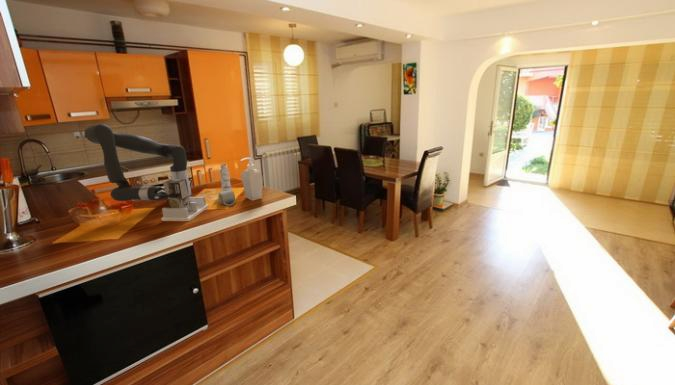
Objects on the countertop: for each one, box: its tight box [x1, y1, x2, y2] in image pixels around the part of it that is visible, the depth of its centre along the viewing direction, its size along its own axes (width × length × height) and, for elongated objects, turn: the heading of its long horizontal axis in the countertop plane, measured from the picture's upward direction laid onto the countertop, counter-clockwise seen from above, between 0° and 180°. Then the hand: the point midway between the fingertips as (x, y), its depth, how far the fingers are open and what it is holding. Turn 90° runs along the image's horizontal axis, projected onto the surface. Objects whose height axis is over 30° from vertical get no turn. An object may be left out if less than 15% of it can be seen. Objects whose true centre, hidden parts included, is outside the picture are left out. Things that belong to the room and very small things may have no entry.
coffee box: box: [163, 178, 191, 210], centre depth 162 cm, size 9×6×16 cm
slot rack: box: [160, 196, 209, 222], centre depth 169 cm, size 21×15×6 cm
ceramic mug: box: [217, 189, 236, 207], centre depth 184 cm, size 11×8×8 cm
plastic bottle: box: [218, 163, 233, 192], centre depth 200 cm, size 6×7×20 cm
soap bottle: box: [239, 156, 264, 201], centre depth 190 cm, size 12×10×26 cm
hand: (181, 193), depth 162 cm, fingers closed on coffee box, 6 cm apart
